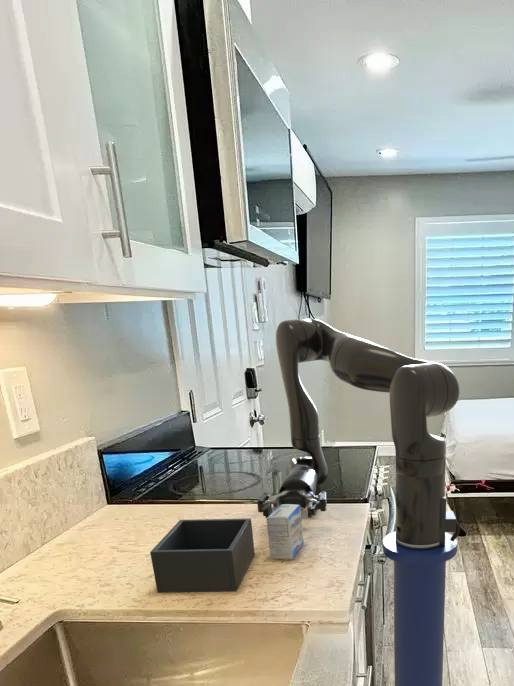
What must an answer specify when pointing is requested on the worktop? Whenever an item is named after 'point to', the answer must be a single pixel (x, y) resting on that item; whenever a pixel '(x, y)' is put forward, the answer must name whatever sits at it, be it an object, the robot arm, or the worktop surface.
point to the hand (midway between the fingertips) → (288, 513)
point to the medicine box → (285, 531)
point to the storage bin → (203, 556)
